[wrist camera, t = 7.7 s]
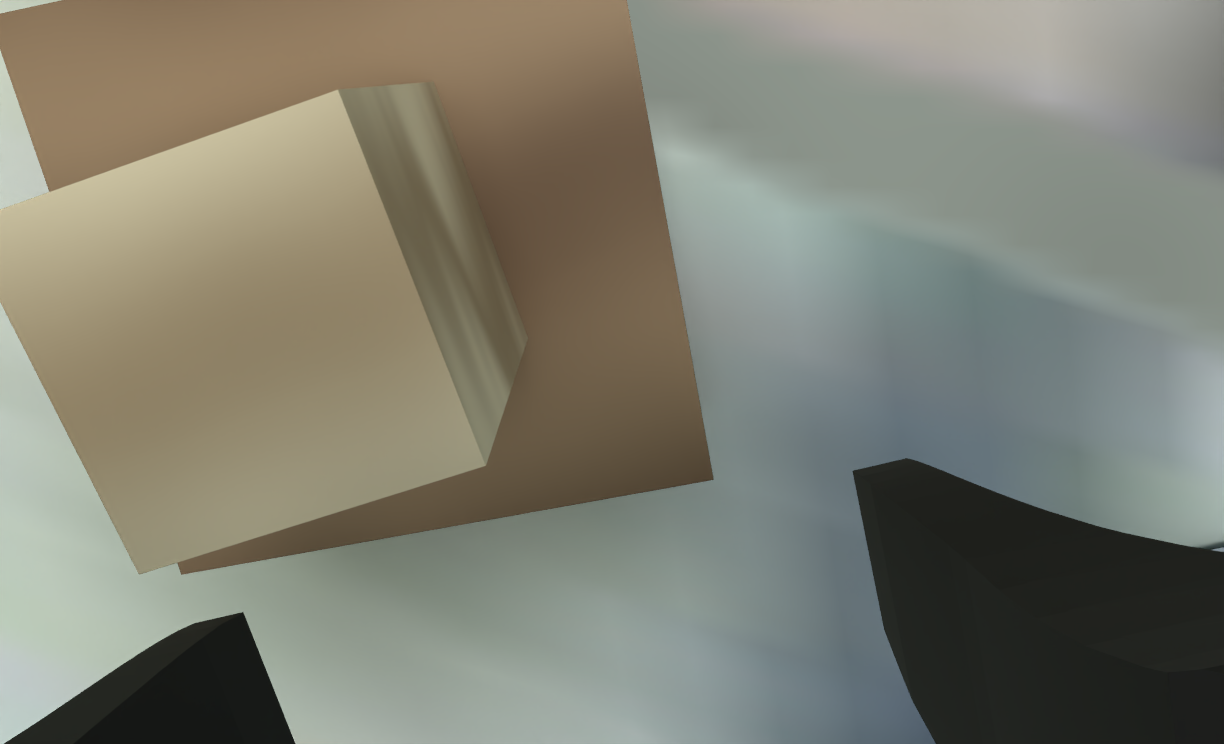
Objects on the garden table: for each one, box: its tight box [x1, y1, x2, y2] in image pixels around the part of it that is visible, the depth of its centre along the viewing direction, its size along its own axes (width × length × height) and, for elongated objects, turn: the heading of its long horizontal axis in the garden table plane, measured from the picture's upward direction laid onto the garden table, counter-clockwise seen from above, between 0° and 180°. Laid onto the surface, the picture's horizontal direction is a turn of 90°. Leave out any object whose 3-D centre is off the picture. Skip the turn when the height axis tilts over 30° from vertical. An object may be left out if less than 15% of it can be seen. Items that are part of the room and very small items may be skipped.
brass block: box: [0, 82, 528, 574], centre depth 15 cm, size 4×4×6 cm
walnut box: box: [0, 0, 714, 575], centre depth 20 cm, size 10×10×4 cm
